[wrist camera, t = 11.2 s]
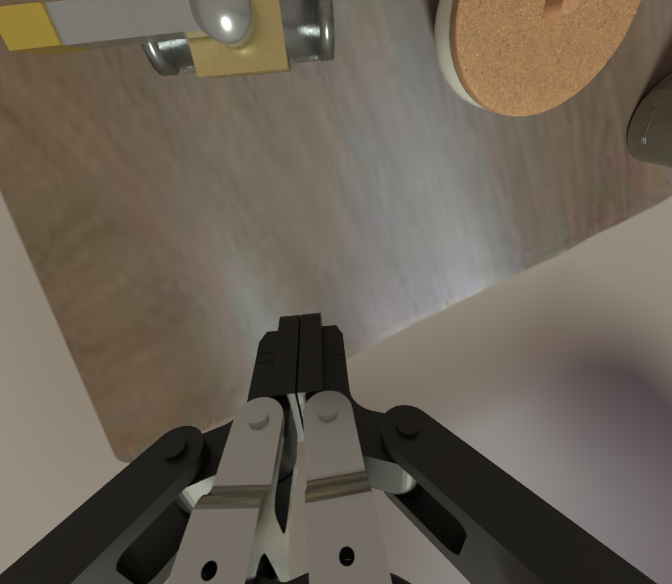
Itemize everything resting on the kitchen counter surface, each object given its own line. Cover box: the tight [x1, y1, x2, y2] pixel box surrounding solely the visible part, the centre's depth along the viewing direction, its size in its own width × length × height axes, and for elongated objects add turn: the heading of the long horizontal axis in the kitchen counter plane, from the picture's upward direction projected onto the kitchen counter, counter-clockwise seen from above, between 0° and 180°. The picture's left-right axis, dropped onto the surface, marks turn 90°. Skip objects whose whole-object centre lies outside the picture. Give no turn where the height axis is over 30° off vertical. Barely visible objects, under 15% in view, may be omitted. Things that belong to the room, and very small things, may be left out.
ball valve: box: [141, 0, 334, 78], centre depth 24 cm, size 14×6×8 cm, turn 95°
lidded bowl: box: [434, 0, 641, 116], centre depth 24 cm, size 13×13×11 cm
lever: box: [0, 0, 256, 55], centre depth 19 cm, size 14×3×3 cm, turn 96°
